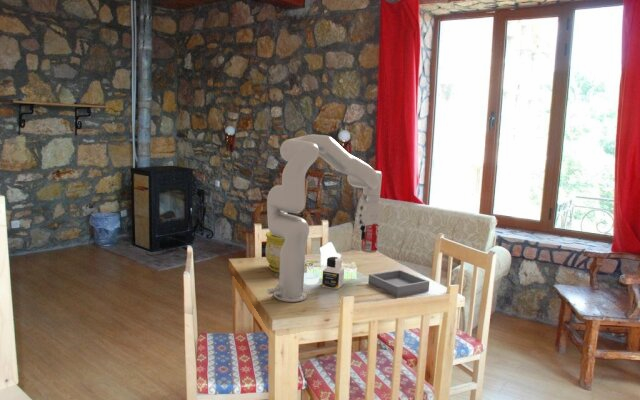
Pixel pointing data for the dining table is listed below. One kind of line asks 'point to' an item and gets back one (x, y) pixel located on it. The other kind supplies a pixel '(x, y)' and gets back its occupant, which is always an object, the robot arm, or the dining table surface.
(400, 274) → the tray
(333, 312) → the dining table surface
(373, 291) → the dining table surface
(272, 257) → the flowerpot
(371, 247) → the soda can
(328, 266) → the medicine bottle
